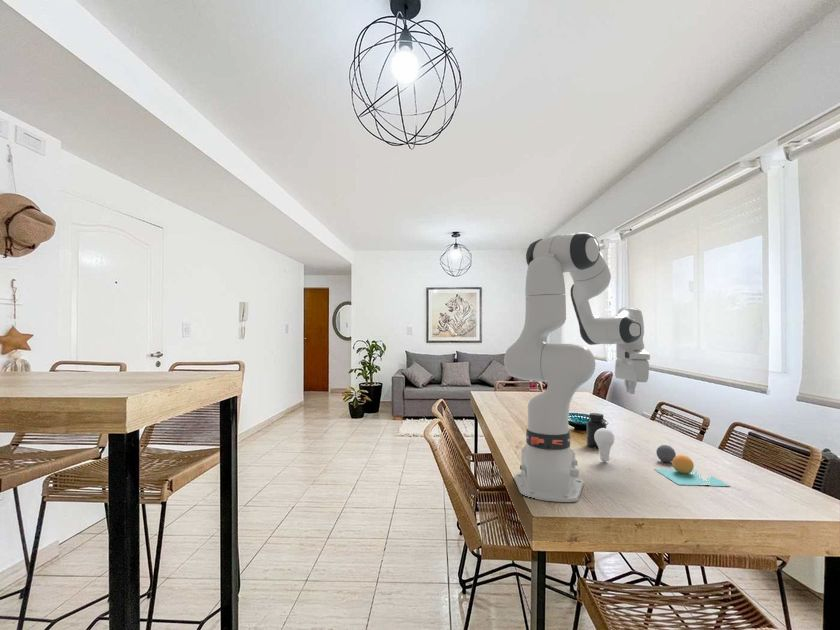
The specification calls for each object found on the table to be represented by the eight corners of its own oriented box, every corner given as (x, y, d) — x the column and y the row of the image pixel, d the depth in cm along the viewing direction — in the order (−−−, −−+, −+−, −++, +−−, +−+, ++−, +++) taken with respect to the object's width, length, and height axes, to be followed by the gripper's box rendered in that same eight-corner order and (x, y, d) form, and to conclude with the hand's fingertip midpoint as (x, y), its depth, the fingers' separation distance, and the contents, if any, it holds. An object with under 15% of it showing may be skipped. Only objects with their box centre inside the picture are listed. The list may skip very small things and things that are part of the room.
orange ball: (683, 462, 132) (690, 478, 128) (666, 459, 132) (672, 476, 127) (692, 452, 128) (700, 469, 124) (675, 450, 128) (682, 466, 124)
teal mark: (730, 486, 117) (730, 486, 117) (678, 485, 118) (678, 484, 118) (701, 470, 131) (701, 470, 131) (654, 469, 132) (654, 468, 132)
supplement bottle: (585, 443, 163) (584, 412, 163) (603, 444, 162) (603, 412, 162) (589, 448, 156) (589, 415, 157) (609, 449, 155) (608, 416, 156)
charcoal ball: (664, 449, 144) (668, 465, 141) (651, 445, 143) (654, 462, 140) (677, 445, 139) (681, 461, 136) (663, 441, 138) (667, 458, 135)
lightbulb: (609, 466, 134) (609, 431, 135) (591, 461, 139) (590, 428, 140) (618, 462, 138) (617, 428, 139) (599, 458, 143) (599, 425, 144)
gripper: (610, 353, 160) (610, 390, 159) (632, 354, 140) (632, 396, 139) (627, 353, 160) (628, 390, 158) (652, 354, 139) (653, 397, 138)
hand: (630, 393), depth 148 cm, fingers closed
